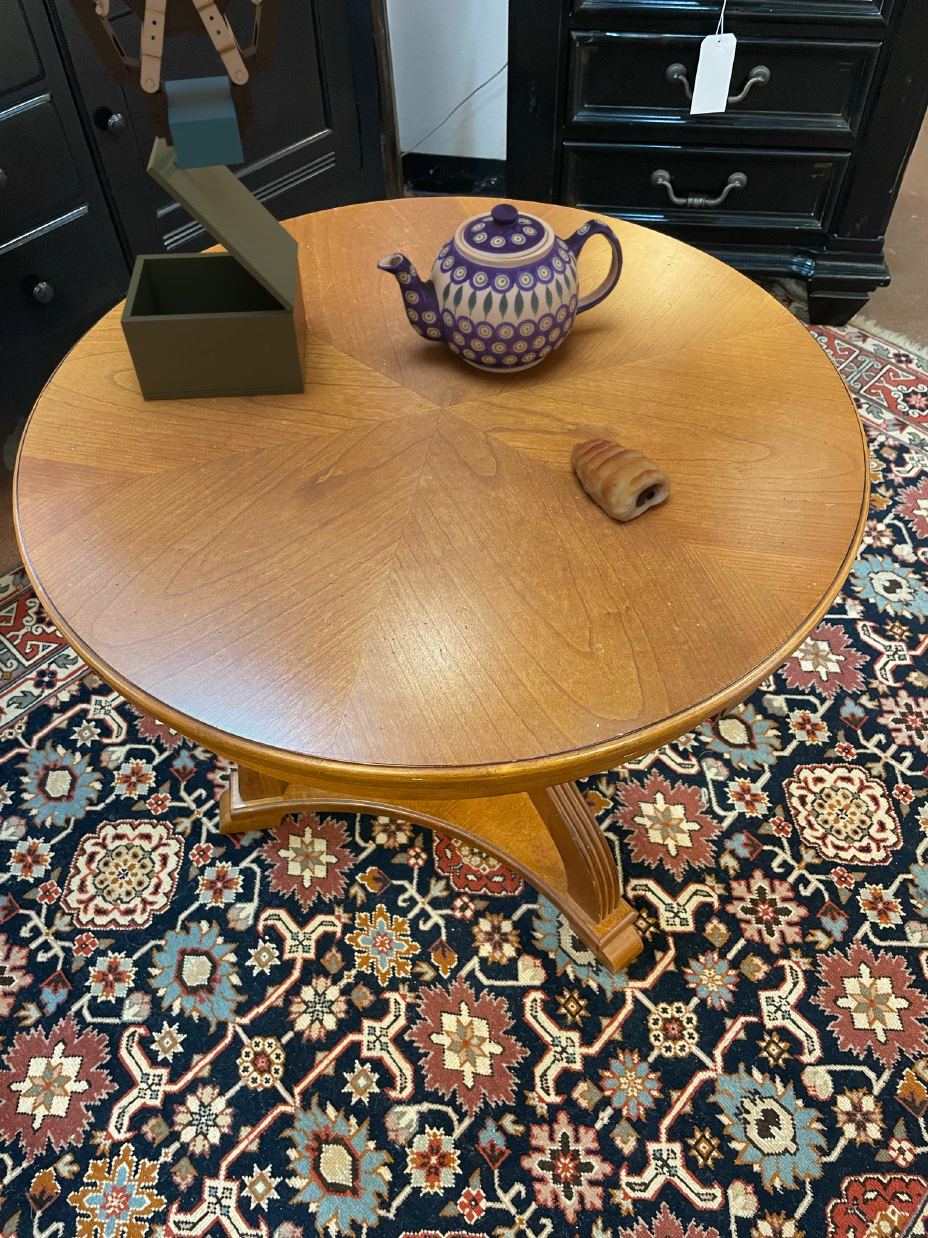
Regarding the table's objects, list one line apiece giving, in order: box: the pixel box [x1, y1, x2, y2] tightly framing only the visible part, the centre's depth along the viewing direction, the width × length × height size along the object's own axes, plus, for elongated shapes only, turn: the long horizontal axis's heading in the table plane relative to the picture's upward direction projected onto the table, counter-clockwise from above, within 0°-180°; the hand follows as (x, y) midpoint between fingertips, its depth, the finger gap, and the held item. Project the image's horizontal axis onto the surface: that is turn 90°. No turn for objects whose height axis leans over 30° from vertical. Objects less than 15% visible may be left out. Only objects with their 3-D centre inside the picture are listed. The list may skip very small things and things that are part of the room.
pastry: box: [570, 437, 672, 522], centre depth 85 cm, size 9×7×4 cm
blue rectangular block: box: [164, 75, 245, 170], centre depth 68 cm, size 7×4×3 cm, turn 13°
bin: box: [120, 251, 308, 401], centre depth 94 cm, size 16×12×9 cm
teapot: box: [376, 203, 624, 374], centre depth 94 cm, size 25×15×15 cm, turn 103°
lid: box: [146, 135, 299, 312], centre depth 85 cm, size 16×12×5 cm
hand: (206, 136), depth 69 cm, fingers closed on blue rectangular block, 4 cm apart
